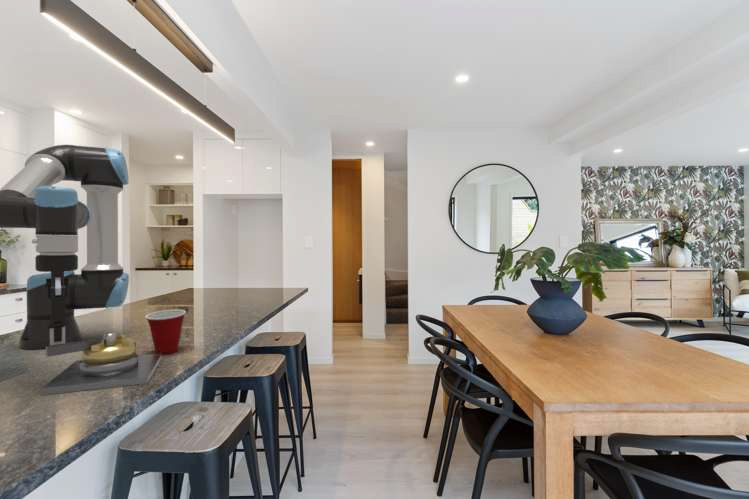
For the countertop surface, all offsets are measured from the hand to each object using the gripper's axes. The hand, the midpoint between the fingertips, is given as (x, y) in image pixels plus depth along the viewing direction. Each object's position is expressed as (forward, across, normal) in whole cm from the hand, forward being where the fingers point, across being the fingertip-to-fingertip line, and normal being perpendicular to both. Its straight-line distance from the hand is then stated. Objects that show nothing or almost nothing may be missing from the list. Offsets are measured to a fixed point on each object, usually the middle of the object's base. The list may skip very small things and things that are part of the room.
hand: (57, 354), depth 87 cm
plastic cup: (+7, -12, +25) cm, 29 cm away
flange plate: (+7, +1, +10) cm, 12 cm away
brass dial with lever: (+2, +1, +7) cm, 7 cm away
